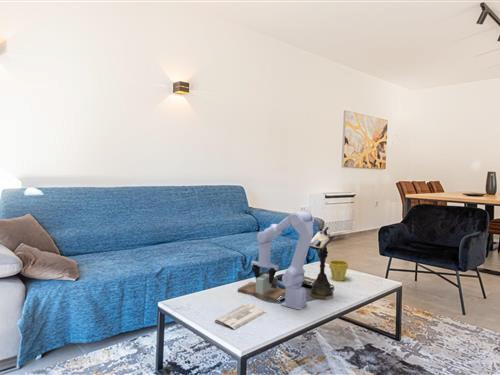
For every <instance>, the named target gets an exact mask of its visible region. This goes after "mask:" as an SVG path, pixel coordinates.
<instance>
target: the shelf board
mask: <svg viewBox="0 0 500 375" xmlns="http://www.w3.org/2000/svg"><path fill="white" fill-rule="evenodd" d="M278 280H279V277H277V276H274V278H273V282H272V283H271V289H270V290H269V291H267V292H265V293H264V294H260V293H256V281H255V282H254V281H250V282H248V283H246V284H243V285H242V286H241V287H239V288H237V292H238V293H241V294H246V295H250V296H253V297H258V298H262V299H266V300H269V301H274V302H277V299H278V298H279V297H280V296H283V297H285V296H284V295H285V288H281V287H278V282H279V281H278Z"/></svg>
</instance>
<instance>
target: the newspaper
mask: <svg viewBox="0 0 500 375" xmlns="http://www.w3.org/2000/svg"><path fill="white" fill-rule="evenodd" d="M264 314H267V311H266V310H264V309H262V308H260V307H259V306H256V305H255V304H250V303H247V304H242V305H240V306H238V307H237V308H235V309H233V310H232V311H229V312H228V313H226V314H224V315H222V316H221V317H218V318H217V319H214V323H216V324H219V325H222V326H224V325H227V326H229V327H231V328H232V329H233V330H234V331H235V330H238V329H239V328H241V327H243V326H244V325H246V324H248V323H250V322H252V321H253V320H256V319H257V318H259V317H261V316H262V315H264Z"/></svg>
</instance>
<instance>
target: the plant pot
mask: <svg viewBox="0 0 500 375" xmlns="http://www.w3.org/2000/svg"><path fill="white" fill-rule="evenodd" d="M328 265H329V266H328V268H329V269H330V273H331V278H332V280H333V281H337V282H342V281H345V278H346V274H347V270H348V268H349V264H348V262H347V261H344V260H340V259H339V260H338V259H337V260H335V259H333V260H330V261H329V264H328Z"/></svg>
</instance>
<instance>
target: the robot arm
mask: <svg viewBox="0 0 500 375" xmlns="http://www.w3.org/2000/svg"><path fill="white" fill-rule="evenodd" d="M314 221H315V218H314V216H313V215H312V213H311V212H310V211H309V210H305V211H301V212H293V213H291V214H288V216H286V217H285V218H284V219H283V220H281V221H279V223H270V226H269V227H267V228H264V229H263V231H259V232H258V233H257V234H256V240H257V242H258V261H256V260H252V261H251V262H250V266H252V267H251V270H252V271H253V274H254V278H255V279H256V278H258V277H259V273H261V268H265V269H268V270H267V272H268V273H269V284H271V283H272V282H273V278H274V277H275V275H276V273H277V271H278V270H279V265H277V264H274V263H271V246H272V243H273V240H274V239H275V238H277V237H278V236H280V235H281V234H282V231H283V230H284V229H286V228H288V227H290V226H292V227H293V228H294V230H295V231H296V232H297V234H299V237H298V240H297V244H296V248H295V251H294V253H293V256H292V259H291V264H290V265H289V266H288V267H287V269H285V273H284V274H282V276H281V282H282V284H283V287H284V289H285V296H284V301H283V302H281V304H280V305H281V306H284V307H288V308H291V309H295V310H298V311H299V310H301V309H302V308H304V307H305V306H306V305H307V289H306V288H305V287H302V285H303V282H304V281H305V272H306V271H305V269H304V264H305V262H306V259H307V255H308V252H309V249H310V248H309V246H310V245H311V244H310V243H311V240H312V239H313V237H314V225H313V224H314Z"/></svg>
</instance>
